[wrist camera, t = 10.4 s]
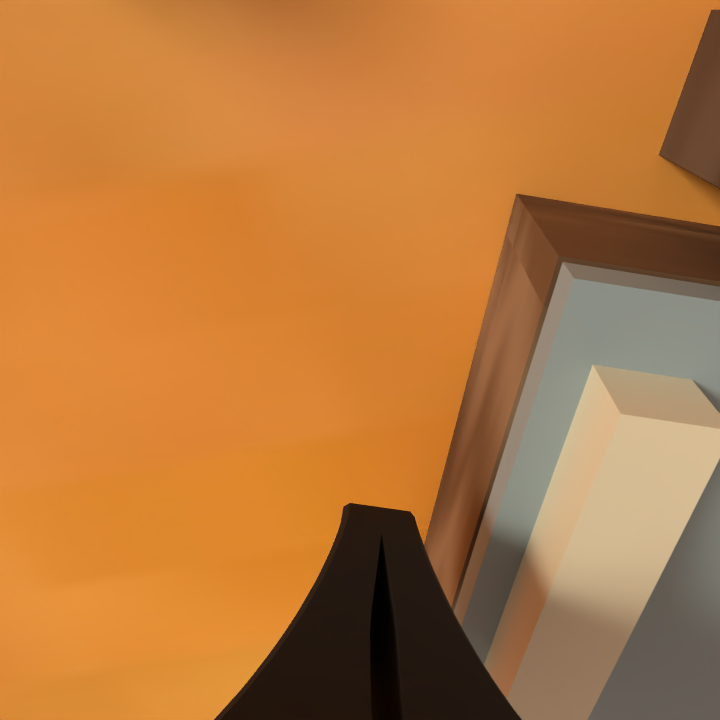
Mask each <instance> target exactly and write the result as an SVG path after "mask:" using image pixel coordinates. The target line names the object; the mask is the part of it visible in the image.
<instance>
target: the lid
mask: <svg viewBox="0 0 720 720" xmlns="http://www.w3.org/2000/svg"><path fill="white" fill-rule="evenodd" d="M454 614H455V616H456V618H457V620H458V621H459V623H460V625H461V627H462V629H463V631H464V632H465V634H466V636H467V638H468V640H469V641H470V643H471V645H472V646H473V648H474V650H475V652H476V653H477V655H478V657H479V658H480V660H481V661H482V663H483V665H484V666H485V668H486V669H487V671H488V672H489V674H490V675H491V677H492V678H493V680H494V682H495V683H496V684H497V686H498V687H499V689H500V690H501V692H502V693H503V695H504V696H505V697H506V699H507V700H508V702H509V703H510V705H511V706H512V707H513V709H514V710H515V711H516V713H517V714H518V715H519V716H520V718H521V719H522V720H720V287H718V286H712V285H706V284H699V283H693V282H687V281H680V280H674V279H668V278H661V277H655V276H649V275H642V274H636V273H630V272H623V271H617V270H611V269H604V268H598V267H592V266H585V265H579V264H573V263H566V262H563V263H562V266H561V269H560V272H559V275H558V279H557V282H556V285H555V288H554V291H553V295H552V298H551V301H550V304H549V307H548V311H547V314H546V317H545V320H544V324H543V327H542V330H541V333H540V336H539V340H538V343H537V346H536V349H535V352H534V356H533V359H532V362H531V365H530V369H529V372H528V375H527V378H526V381H525V385H524V388H523V391H522V394H521V397H520V401H519V404H518V407H517V410H516V414H515V417H514V420H513V423H512V426H511V430H510V433H509V436H508V439H507V442H506V446H505V449H504V452H503V455H502V459H501V462H500V465H499V468H498V471H497V475H496V478H495V481H494V484H493V487H492V491H491V494H490V497H489V500H488V504H487V507H486V510H485V513H484V516H483V520H482V523H481V526H480V529H479V532H478V536H477V539H476V542H475V545H474V549H473V552H472V555H471V558H470V561H469V565H468V568H467V571H466V574H465V577H464V581H463V584H462V587H461V590H460V593H459V597H458V600H457V603H456V606H455V610H454Z"/></svg>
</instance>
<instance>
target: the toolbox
mask: <svg viewBox="0 0 720 720" xmlns="http://www.w3.org/2000/svg"><path fill="white" fill-rule="evenodd" d="M563 262H566V263H573V264H579V265H585V266H592V267H598V268H604V269H611V270H617V271H623V272H630V273H636V274H642V275H649V276H655V277H661V278H668V279H674V280H680V281H687V282H693V283H699V284H706V285H712V286H718V287H720V227H719V226H713V225H707V224H700V223H694V222H688V221H682V220H676V219H669V218H663V217H657V216H651V215H645V214H638V213H632V212H626V211H620V210H614V209H607V208H601V207H595V206H589V205H583V204H576V203H570V202H564V201H558V200H551V199H545V198H539V197H533V196H527V195H520V194H516V198H515V202H514V205H513V209H512V213H511V217H510V221H509V224H508V228H507V232H506V236H505V240H504V244H503V247H502V251H501V255H500V259H499V263H498V266H497V270H496V274H495V278H494V282H493V285H492V289H491V293H490V297H489V301H488V304H487V308H486V312H485V316H484V320H483V324H482V327H481V331H480V335H479V339H478V343H477V346H476V350H475V354H474V358H473V362H472V365H471V369H470V373H469V377H468V381H467V384H466V388H465V392H464V396H463V400H462V403H461V407H460V411H459V415H458V419H457V423H456V426H455V430H454V434H453V438H452V442H451V445H450V449H449V453H448V457H447V461H446V464H445V468H444V472H443V476H442V480H441V483H440V487H439V491H438V495H437V499H436V503H435V506H434V510H433V514H432V518H431V522H430V525H429V529H428V533H427V537H426V541H425V544H424V547H425V550H426V552H427V555H428V557H429V560H430V562H431V565H432V567H433V569H434V572H435V574H436V576H437V579H438V581H439V583H440V585H441V587H442V589H443V591H444V593H445V596H446V598H447V600H448V602H449V604H450V606H451V608H452V610H453V612H454V610H455V606H456V603H457V600H458V597H459V593H460V590H461V587H462V584H463V581H464V577H465V574H466V571H467V568H468V565H469V561H470V558H471V555H472V552H473V549H474V545H475V542H476V539H477V536H478V532H479V529H480V526H481V523H482V520H483V516H484V513H485V510H486V507H487V504H488V500H489V497H490V494H491V491H492V487H493V484H494V481H495V478H496V475H497V471H498V468H499V465H500V462H501V459H502V455H503V452H504V449H505V446H506V442H507V439H508V436H509V433H510V430H511V426H512V423H513V420H514V417H515V414H516V410H517V407H518V404H519V401H520V397H521V394H522V391H523V388H524V385H525V381H526V378H527V375H528V372H529V369H530V365H531V362H532V359H533V356H534V352H535V349H536V346H537V343H538V340H539V336H540V333H541V330H542V327H543V324H544V320H545V317H546V314H547V311H548V307H549V304H550V301H551V298H552V295H553V291H554V288H555V285H556V282H557V279H558V275H559V272H560V269H561V266H562V263H563Z"/></svg>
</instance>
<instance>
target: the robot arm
mask: <svg viewBox="0 0 720 720" xmlns="http://www.w3.org/2000/svg"><path fill="white" fill-rule="evenodd" d="M214 720H522V719H521V718H520V716H519V715H518V714H517V713H516V711H515V710H514V709H513V707H512V706H511V705H510V703H509V702H508V700H507V699H506V697H505V696H504V695H503V693H502V692H501V690H500V689H499V687H498V686H497V684H496V683H495V682H494V680H493V678H492V677H491V675H490V674H489V672H488V671H487V669H486V668H485V666H484V665H483V663H482V661H481V660H480V658H479V657H478V655H477V653H476V652H475V650H474V648H473V646H472V645H471V643H470V641H469V640H468V638H467V636H466V634H465V632H464V631H463V629H462V627H461V625H460V623H459V621H458V620H457V618H456V616H455V614H454V612H453V610H452V608H451V606H450V604H449V602H448V600H447V598H446V596H445V593H444V591H443V589H442V587H441V585H440V583H439V581H438V579H437V576H436V574H435V572H434V569H433V567H432V565H431V562H430V560H429V557H428V555H427V552H426V550H425V547H424V545H423V542H422V539H421V536H420V533H419V530H418V527H417V524H416V521H415V517H414V516H413V514H412V513H411V512H410V511H403V510H395V509H388V508H381V507H374V506H367V505H360V504H353V503H349V504H347V505H346V506H344V507H343V513H342V519H341V523H340V527H339V530H338V533H337V536H336V538H335V541H334V543H333V546H332V548H331V551H330V553H329V555H328V557H327V559H326V561H325V563H324V565H323V568H322V570H321V572H320V574H319V576H318V578H317V580H316V582H315V583H314V585H313V587H312V589H311V590H310V592H309V594H308V596H307V597H306V599H305V601H304V602H303V604H302V606H301V608H300V609H299V611H298V613H297V614H296V616H295V617H294V619H293V620H292V622H291V624H290V625H289V627H288V628H287V630H286V631H285V633H284V634H283V635H282V637H281V638H280V640H279V641H278V643H277V644H276V645H275V647H274V648H273V650H272V651H271V652H270V654H269V655H268V656H267V658H266V659H265V660H264V662H263V663H262V664H261V665H260V667H259V668H258V669H257V671H256V672H255V673H254V675H253V676H252V677H251V678H250V679H249V681H248V682H247V683H246V684H245V686H244V687H243V688H242V689H241V690H240V692H239V693H238V694H237V695H236V696H235V697H234V698H233V699H232V700H231V702H230V703H229V704H228V705H227V706H226V707H225V708H224V709H223V710H222V712H221V713H220V714H219V715H218V716H217V717H216V718H215V719H214Z"/></svg>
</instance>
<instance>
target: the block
mask: <svg viewBox="0 0 720 720" xmlns="http://www.w3.org/2000/svg"><path fill="white" fill-rule="evenodd" d="M659 155H660V156H662V157H664V158H666V159H668V160H669V161H671V162H673V163H675V164H677V165H679V166H680V167H682V168H684V169H686V170H688V171H689V172H691V173H693V174H695V175H697V176H699V177H700V178H702V179H704V180H706V181H708V182H709V183H711V184H713V185H715V186H717V187H719V188H720V10H711V13H710V16H709V18H708V21H707V24H706V27H705V29H704V32H703V35H702V38H701V40H700V43H699V46H698V49H697V51H696V54H695V57H694V60H693V62H692V65H691V68H690V71H689V73H688V76H687V79H686V82H685V85H684V87H683V90H682V93H681V96H680V98H679V101H678V104H677V107H676V109H675V112H674V115H673V118H672V120H671V123H670V126H669V129H668V131H667V134H666V137H665V140H664V142H663V145H662V148H661V151H660V153H659Z"/></svg>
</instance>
